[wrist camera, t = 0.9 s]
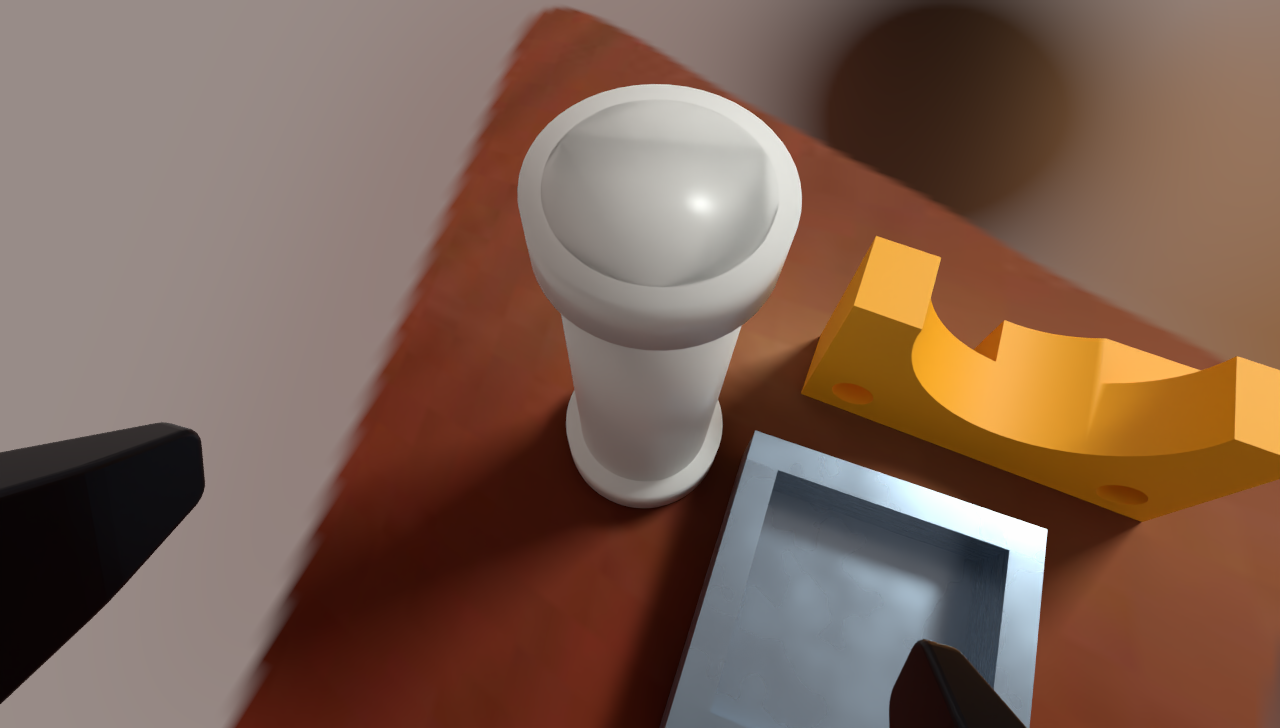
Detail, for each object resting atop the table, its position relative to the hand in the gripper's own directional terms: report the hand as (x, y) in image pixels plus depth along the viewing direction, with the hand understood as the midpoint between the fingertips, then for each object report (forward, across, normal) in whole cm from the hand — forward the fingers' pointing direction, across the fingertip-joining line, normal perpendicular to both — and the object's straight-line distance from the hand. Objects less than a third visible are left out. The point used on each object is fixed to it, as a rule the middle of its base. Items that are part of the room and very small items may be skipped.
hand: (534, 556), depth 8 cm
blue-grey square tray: (+11, -8, +9) cm, 16 cm away
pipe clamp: (+18, -11, +3) cm, 21 cm away
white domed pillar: (+14, 0, +6) cm, 16 cm away
